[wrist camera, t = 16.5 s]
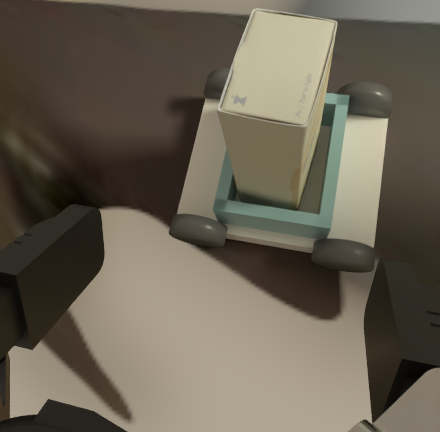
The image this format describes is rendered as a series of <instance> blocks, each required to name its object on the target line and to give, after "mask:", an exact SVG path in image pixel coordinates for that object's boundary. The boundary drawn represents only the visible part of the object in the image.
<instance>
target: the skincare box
mask: <svg viewBox="0 0 440 432" xmlns="http://www.w3.org/2000/svg"><path fill="white" fill-rule="evenodd" d="M336 29H337V22H336V21H334V20H329V19H323V18H316V17H311V16H305V15H299V14H293V13H286V12H279V11H273V10H267V9H260V8H256V9H254V10H253V11H252V13H251V16H250V18H249V21H248V23H247V26H246V28H245V31H244V34H243V36H242V39H241V41H240V44H239V47H238V49H237V52H236V54H235V57H234V60H233V63H232V66H231V69H230V72H229V75H228V78H227V81H226V84H225V87H224V90H223V93H222V95H221V99H220V102H219V105H218V107H217V112H218V116H219V120H220V124H221V128H222V131H223V135H224V139H225V143H226V147H227V151H228V155H229V159H230V162H231V167H232V171H233V175H234V179H235V182H236V186H237V190H238V194H239V198H240V201H241V202H243V203H249V204H255V205H262V206H268V207H275V208H281V209H287V210H294V211H298V209H299V206H300V203H301V200H302V196H303V193H304V190H305V187H306V183H307V180H308V176H309V173H310V169H311V165H312V162H313V158H314V154H315V151H316V147H317V143H318V137H319V132H320V126H321V120H322V114H323V108H324V102H325V96H326V90H327V84H328V78H329V72H330V66H331V59H332V53H333V47H334V41H335V35H336Z"/></svg>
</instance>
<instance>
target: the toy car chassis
mask: <svg viewBox="0 0 440 432" xmlns="http://www.w3.org/2000/svg"><path fill="white" fill-rule="evenodd" d="M230 69H231V68H220V69H216V70H214V71H212V72H211V73H210V74H209V75H208V78H207V82H206V86H205V90H204V94H205V97H206V99H205V103H204V107H203V111H202V115H201V119H200V123H199V127H198V131H197V135H196V139H195V143H194V147H193V151H192V155H191V159H190V163H189V167H188V171H187V175H186V179H185V183H184V187H183V191H182V196H181V200H180V204H179V208H178V212H177V214H176V215H174V216H173V218H172V222H171V226H170V230H169V234H170V235H171V236H172V237H174V238H176V239H178V240H181V241H184V242H187V243H190V244H194V245H199V246H205V247H216V248H217V247H223V246H224V244H225V240H226V238H227V239H233V240H238V241H244V242H250V243H256V244H261V245H267V246H273V247H279V248H285V249H290V250H296V251H302V252H308V253H312V257H311V261H312V262H313V263H315V264H317V265H319V266H322V267H325V268H329V269H334V270H339V271H346V272H370V271H373V269H374V261H375V252H376V251H375V249H374V243H375V233H376V224H377V215H378V206H379V197H380V187H381V178H382V169H383V160H384V151H385V141H386V132H387V123H388V117H389V115H390V112H391V103H392V94H391V92H390V90H389V89H388V88H386V87H385V86H383V85H381V84H378V83H374V82H366V81H362V82H354V83H350V84H347V85H345V86H343V87H342V88H340V89H339V90H338V91H337V93H336V94H331V93H326V96H325V102H324V108H323V114H322V120H321V126H320V132H319V137H318V143H317V147H316V151H315V154H314V158H313V162H312V165H311V169H310V173H309V176H308V180H307V183H306V187H305V190H304V193H303V196H302V200H301V203H300V206H299V209H298V211H294V210H287V209H281V208H275V207H268V206H262V205H255V204H249V203H243V202H241V201H240V198H239V194H238V190H237V186H236V182H235V179H234V175H233V171H232V167H231V162H230V159H229V155H228V151H227V147H226V143H225V139H224V135H223V131H222V128H221V124H220V120H219V116H218V112H217V107H218V105H219V102H220V99H221V95H222V93H223V90H224V87H225V84H226V81H227V78H228V75H229V72H230Z"/></svg>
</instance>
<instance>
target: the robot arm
mask: <svg viewBox="0 0 440 432" xmlns="http://www.w3.org/2000/svg"><path fill="white" fill-rule="evenodd" d="M103 261H104V242H103V231H102V219H101V213H100V211H99V209H97V208H94V207H88V206H82V205H76V204H72V205H70V206H68V207H67V208H66V209H65V210H63V211H62V212H61V213H60V214H58V215H57V216H56V217H52V218H50V219H47V220H45V221H42V222H40V223H38V224H36V225H34V226H33V227H32V228H30V229H29V230H28V231H26V232H25V233H24V235H21V236H20V237H19V238H17V239H16V240H15V241H14V243H11V244H9V245H8V246H7V247H5V248H4V249H3V250H2V251H0V432H127V431H125V430H124V429H122V428H120V427H119V426H117V425H115V424H114V423H112V422H110V421H109V420H107V419H106V418H104V417H102V416H100V415H99V414H97V413H96V412H94V411H91V410H87V409H84V408H80V407H76V406H72V405H69V404H65V403H61V402H57V401H54V400H50V399H48V400H47V402H46V403H45V405H44V406H43V407H42V409H41V410H40V411H39V413H38V414H37V415H27V416H19V417H14V418H10V359H9V355H8V351H10V349H11V348H12V347H13V346H18V347H22V348H27V349H31V350H33V349H34V347H35V346H36V345H37V344H38V343H39V342H40V340H41V339H42V338H43V337H44V336H45V335H46V333H47V332H48V331H49V330H50V329H51V328H52V326H53V325H54V324H55V323H56V322H57V321H58V319H59V318H60V317H61V316H62V315H63V314H64V312H65V311H66V310H67V309H68V308H69V307H70V305H71V304H72V303H73V302H74V301H75V300H76V298H77V297H78V296H79V295H80V294H81V293H82V291H83V290H84V289H85V288H86V287H87V285H88V284H89V283H90V282H91V281H92V280H93V279H94V277H95V276H96V275H97V274H98V273H99V271H100V269H101V267H102V265H103ZM364 334H365V345H366V357H367V367H368V379H369V390H370V400H371V412H372V424H370V423H369V422H368V421H367V420H362V421H360V422H359V423H357V424H356V425H355V426H354V427H353V428H352V429H351V430H350V431H348V432H440V295H439V294H438V293H437V292H436V291H435V289H434V288H433V287H432V286H430V285H424V284H419V283H418V281H417V278H416V274H415V271H414V267H413V264H412V263H410V262H404V261H398V260H392V259H386V258H381V259H380V260H379V263H378V266H377V269H376V272H375V276H374V279H373V283H372V286H371V290H370V293H369V297H368V301H367V304H366V309H365V315H364Z"/></svg>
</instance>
